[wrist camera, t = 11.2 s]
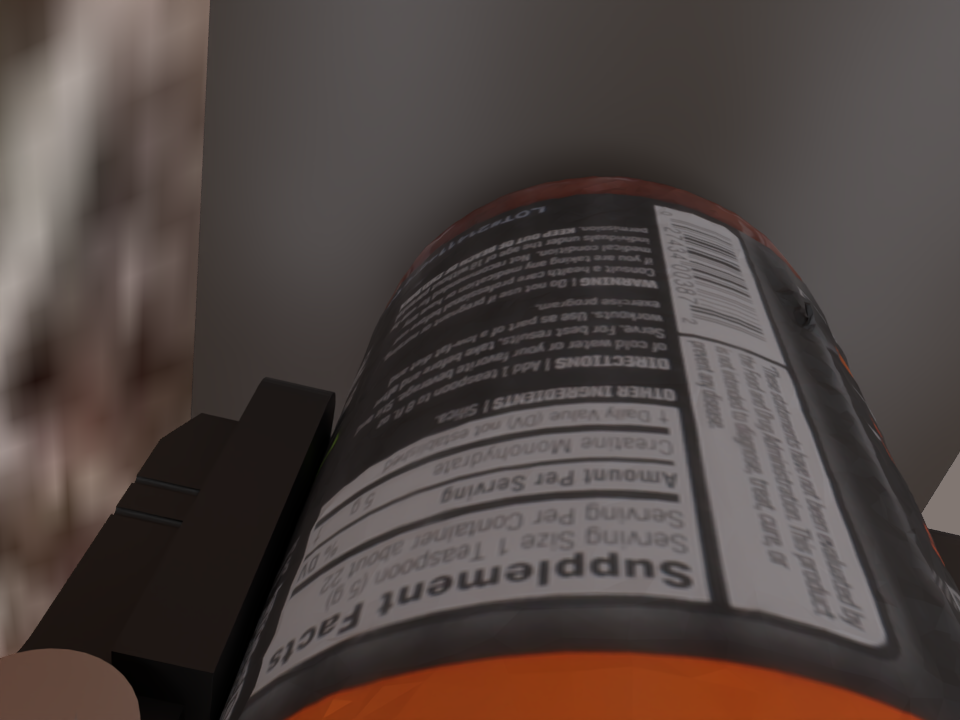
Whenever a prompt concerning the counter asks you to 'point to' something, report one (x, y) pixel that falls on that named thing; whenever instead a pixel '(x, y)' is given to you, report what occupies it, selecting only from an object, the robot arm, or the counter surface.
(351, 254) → the riser
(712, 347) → the supplement bottle
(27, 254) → the counter surface
